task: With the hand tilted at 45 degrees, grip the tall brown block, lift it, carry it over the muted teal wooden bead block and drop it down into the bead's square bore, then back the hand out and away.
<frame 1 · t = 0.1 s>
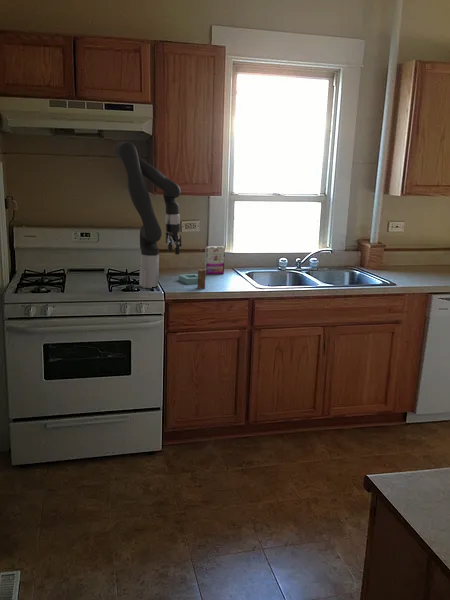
hand: (173, 253, 301), 17 cm above the countertop, tool pointing down, fingers open, 8 cm apart
tall brown block: (201, 288, 302), on the countertop
candy bar box: (214, 273, 341), on the countertop
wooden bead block: (191, 281, 316), on the countertop
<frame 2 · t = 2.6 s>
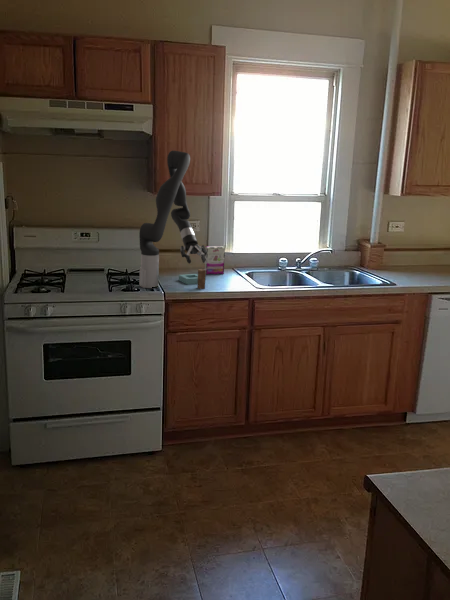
hand: (197, 262, 304), 13 cm above the countertop, tool tilted 45°, fingers open, 8 cm apart
nothing on the countertop moved.
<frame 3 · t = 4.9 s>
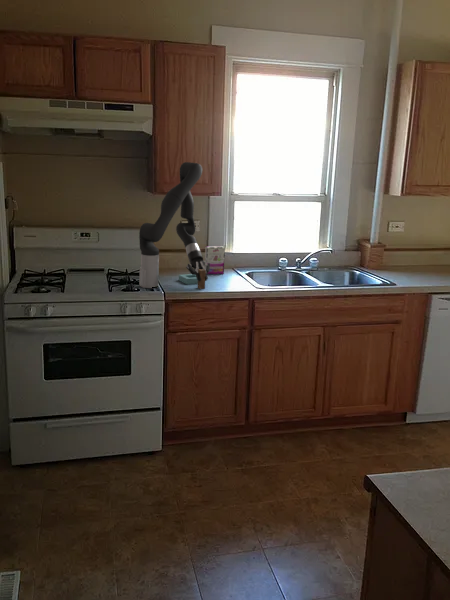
hand: (203, 280, 299), 5 cm above the countertop, tool tilted 45°, fingers closed on tall brown block, 3 cm apart
tall brown block: (201, 288, 302), on the countertop, touching gripper
everything else where it was.
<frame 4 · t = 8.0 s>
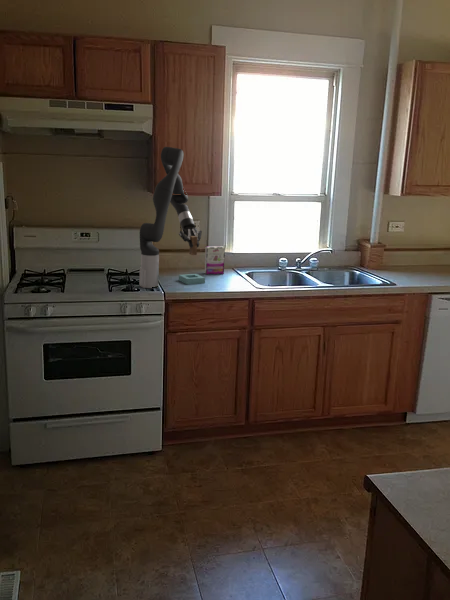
hand: (195, 246, 309), 20 cm above the countertop, tool tilted 45°, fingers closed on tall brown block, 3 cm apart
tall brown block: (193, 254, 312), point 15 cm above the countertop, touching gripper
everything else where it was.
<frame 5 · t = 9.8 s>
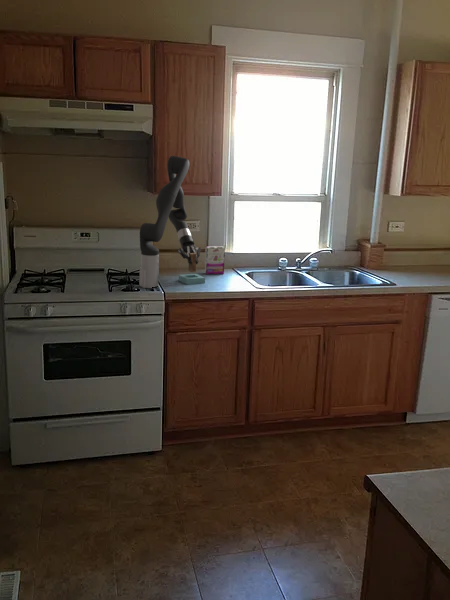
hand: (194, 263, 312), 11 cm above the countertop, tool tilted 45°, fingers closed on tall brown block, 3 cm apart
tall brown block: (192, 271, 315), point 6 cm above the countertop, touching gripper
everything else where it was.
when the fingers open (6 cm above the countertop, at t = 11.0 s): tall brown block drops 1 cm, resting in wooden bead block.
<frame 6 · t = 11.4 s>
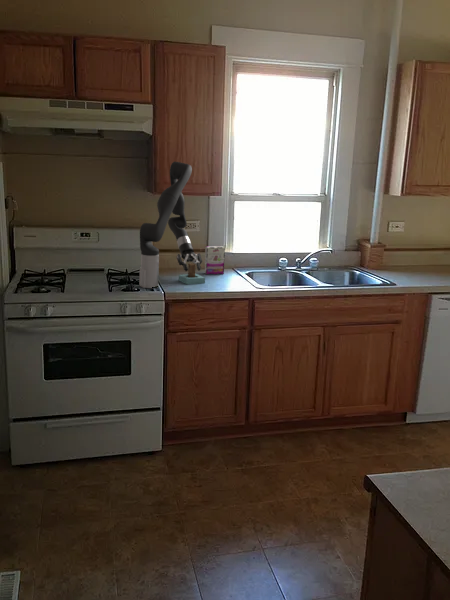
hand: (193, 270, 313), 7 cm above the countertop, tool tilted 45°, fingers open, 7 cm apart
tall brown block: (191, 281, 316), resting in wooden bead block
everything else where it was.
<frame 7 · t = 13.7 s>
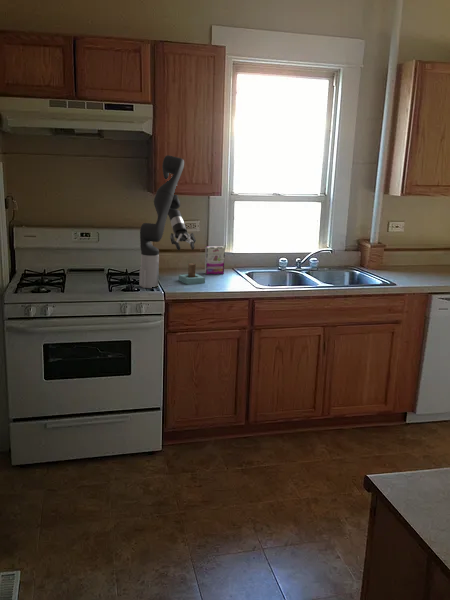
hand: (186, 249, 319), 17 cm above the countertop, tool tilted 45°, fingers open, 8 cm apart
nothing on the countertop moved.
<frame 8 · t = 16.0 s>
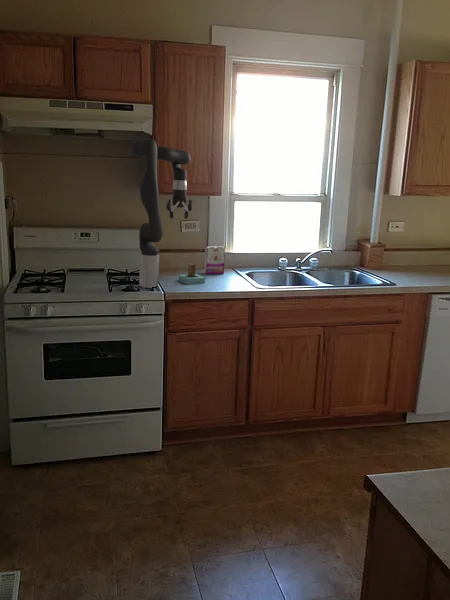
hand: (178, 218, 313), 34 cm above the countertop, tool pointing down, fingers open, 8 cm apart
nothing on the countertop moved.
at the end: tall brown block 0.2 cm off-centre on the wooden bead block, point 0.0 cm above the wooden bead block's base; tall brown block tilted 0°; the gripper is holding nothing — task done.
